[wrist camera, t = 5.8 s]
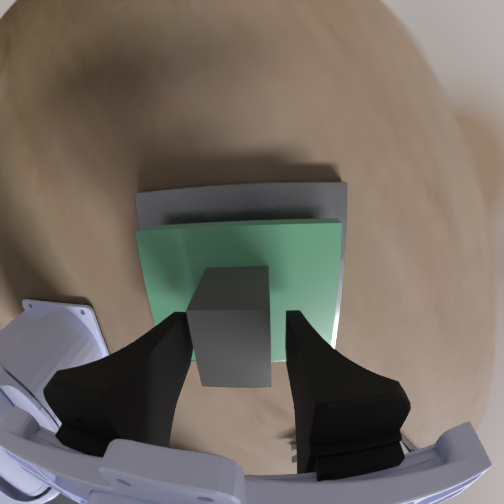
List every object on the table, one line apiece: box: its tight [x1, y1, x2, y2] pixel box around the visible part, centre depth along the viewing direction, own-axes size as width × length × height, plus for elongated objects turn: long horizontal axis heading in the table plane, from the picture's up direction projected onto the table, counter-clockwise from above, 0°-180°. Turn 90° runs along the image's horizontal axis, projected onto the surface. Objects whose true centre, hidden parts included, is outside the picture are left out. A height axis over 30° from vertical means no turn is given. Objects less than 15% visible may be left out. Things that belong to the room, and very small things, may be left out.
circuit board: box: [135, 218, 342, 388], centre depth 13 cm, size 10×8×5 cm
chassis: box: [135, 181, 347, 362], centre depth 16 cm, size 12×12×2 cm
